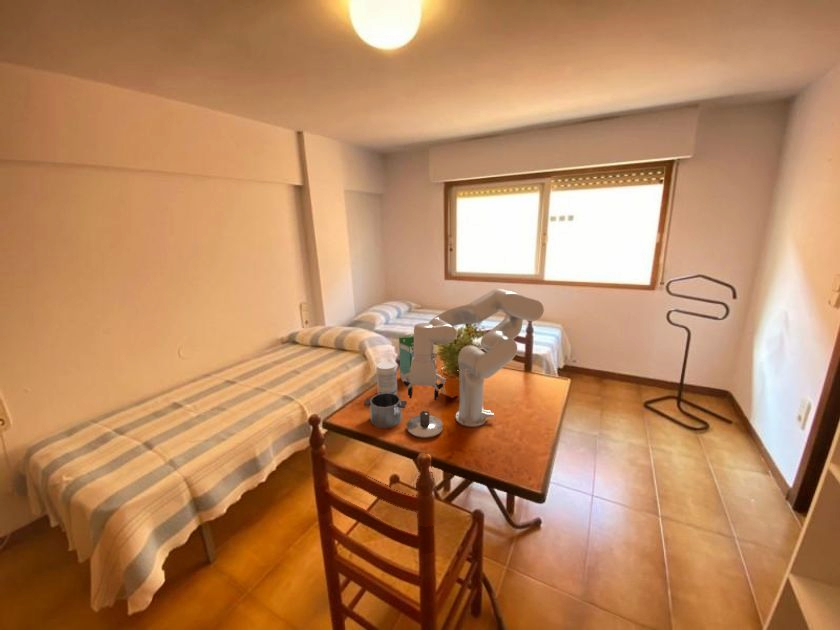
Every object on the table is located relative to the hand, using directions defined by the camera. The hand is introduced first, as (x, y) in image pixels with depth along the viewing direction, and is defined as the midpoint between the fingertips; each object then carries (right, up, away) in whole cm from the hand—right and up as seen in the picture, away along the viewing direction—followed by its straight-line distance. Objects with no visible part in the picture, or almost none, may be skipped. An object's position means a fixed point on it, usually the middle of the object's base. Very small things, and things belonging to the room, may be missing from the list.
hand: (423, 397), depth 130 cm
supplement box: (+13, -6, +31) cm, 34 cm away
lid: (+1, -13, +4) cm, 14 cm away
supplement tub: (-17, -6, +34) cm, 38 cm away
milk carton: (-5, -2, +50) cm, 50 cm away
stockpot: (-15, -12, +11) cm, 22 cm away
